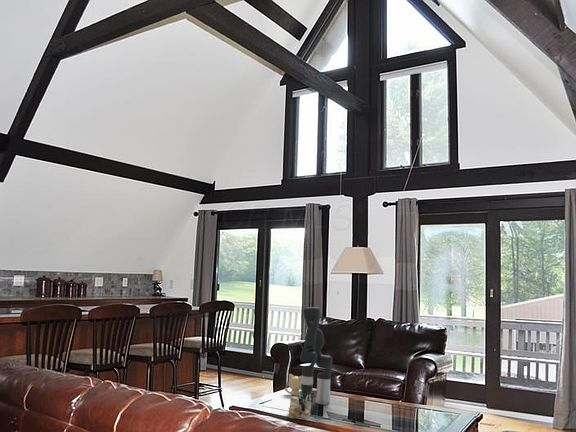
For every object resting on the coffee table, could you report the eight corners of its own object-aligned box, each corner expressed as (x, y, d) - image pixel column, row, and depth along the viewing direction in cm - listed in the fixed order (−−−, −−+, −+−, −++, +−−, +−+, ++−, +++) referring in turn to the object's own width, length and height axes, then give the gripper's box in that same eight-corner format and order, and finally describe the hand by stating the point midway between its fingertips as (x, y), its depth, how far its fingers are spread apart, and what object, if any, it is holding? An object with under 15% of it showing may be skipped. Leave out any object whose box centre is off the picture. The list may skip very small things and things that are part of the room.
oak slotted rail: (305, 412, 337) (306, 402, 338) (310, 413, 335) (310, 404, 335) (288, 417, 323) (289, 407, 324) (292, 418, 321) (293, 408, 322)
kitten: (307, 395, 383) (308, 374, 385) (302, 398, 374) (303, 377, 376) (289, 392, 389) (290, 372, 391) (283, 394, 380) (285, 374, 382)
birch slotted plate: (292, 412, 335) (293, 396, 336) (310, 417, 326) (311, 401, 327) (289, 413, 332) (290, 397, 333) (306, 418, 323) (307, 402, 324)
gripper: (309, 380, 336) (307, 407, 334) (295, 383, 325) (293, 411, 323) (318, 382, 331) (316, 410, 330) (304, 385, 320) (303, 413, 319)
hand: (305, 410), depth 327 cm, fingers open, 4 cm apart
